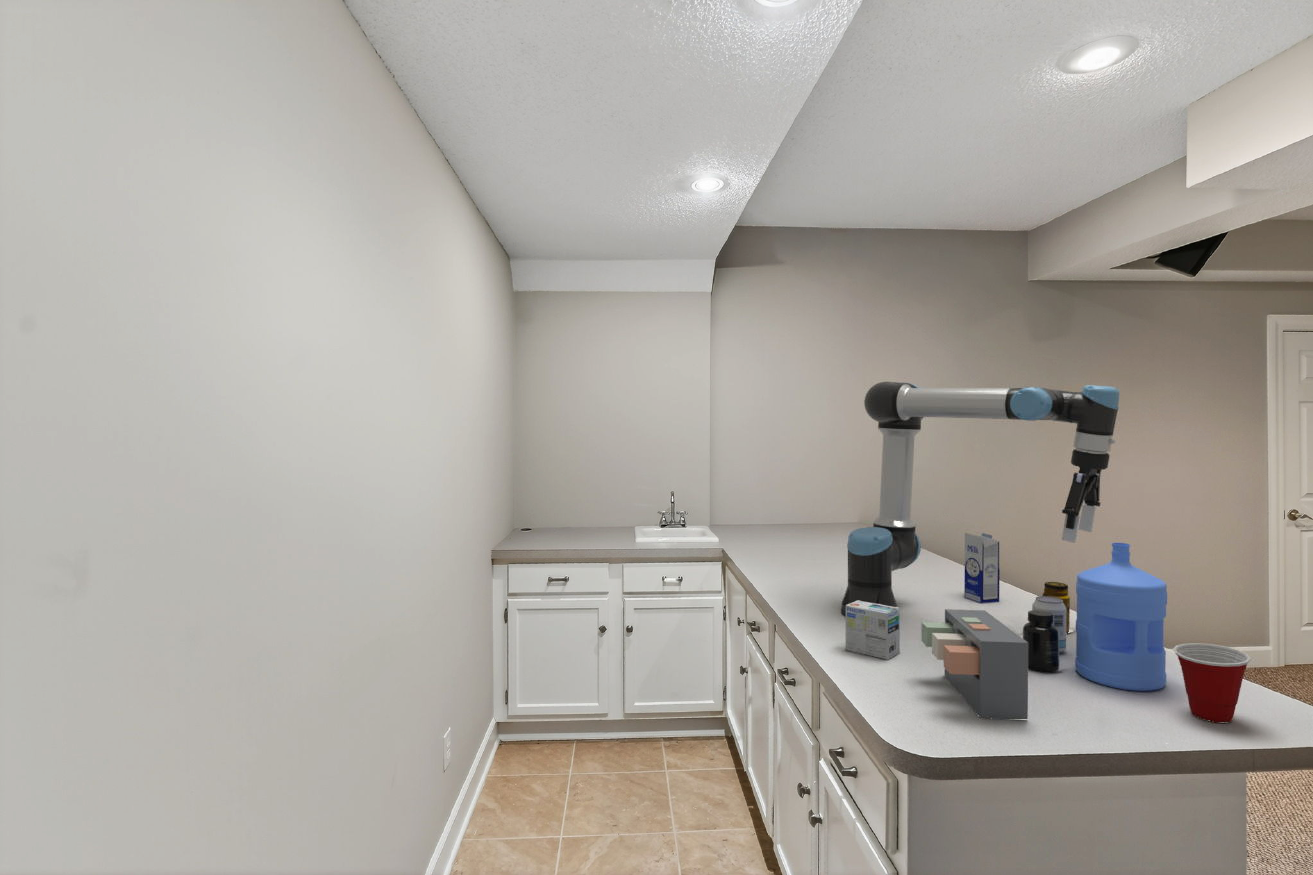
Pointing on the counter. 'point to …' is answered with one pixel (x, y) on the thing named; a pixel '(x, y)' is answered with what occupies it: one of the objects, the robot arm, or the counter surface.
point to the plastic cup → (1212, 678)
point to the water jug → (1121, 625)
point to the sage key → (934, 630)
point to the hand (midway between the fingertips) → (1076, 535)
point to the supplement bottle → (1042, 642)
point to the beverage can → (1054, 615)
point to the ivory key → (946, 642)
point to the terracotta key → (962, 659)
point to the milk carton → (982, 568)
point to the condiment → (1059, 596)
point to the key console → (992, 666)
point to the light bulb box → (873, 629)
